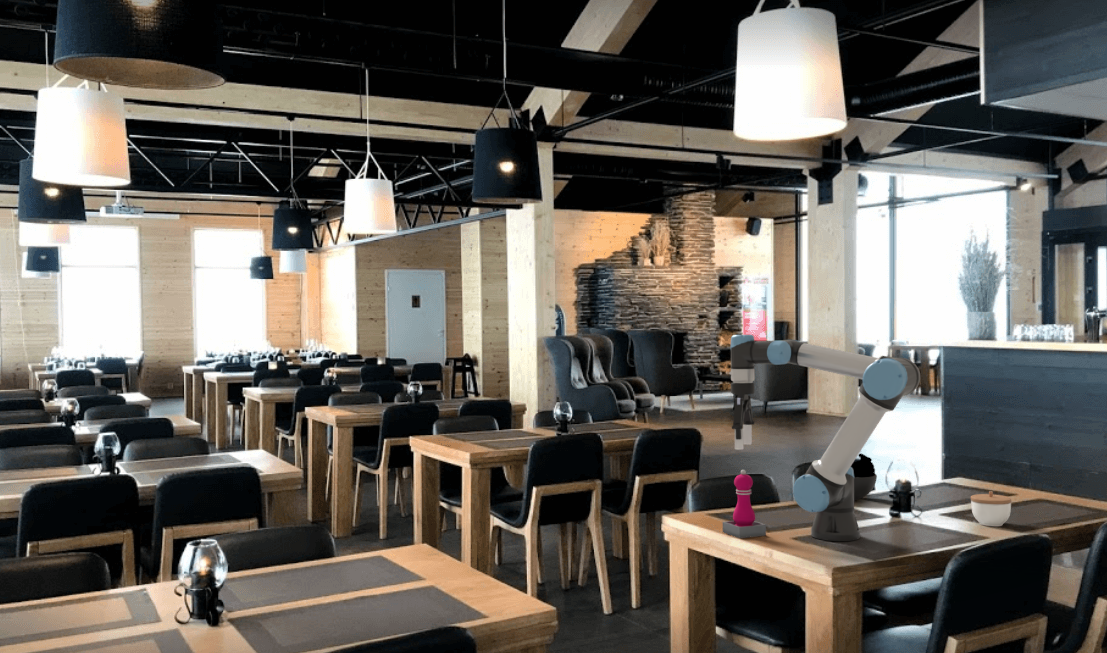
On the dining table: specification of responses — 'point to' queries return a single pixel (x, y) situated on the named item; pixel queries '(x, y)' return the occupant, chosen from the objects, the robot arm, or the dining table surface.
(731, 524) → the tray
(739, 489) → the pepper mill
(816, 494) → the robot arm
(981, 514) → the lidded bowl
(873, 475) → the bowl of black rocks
